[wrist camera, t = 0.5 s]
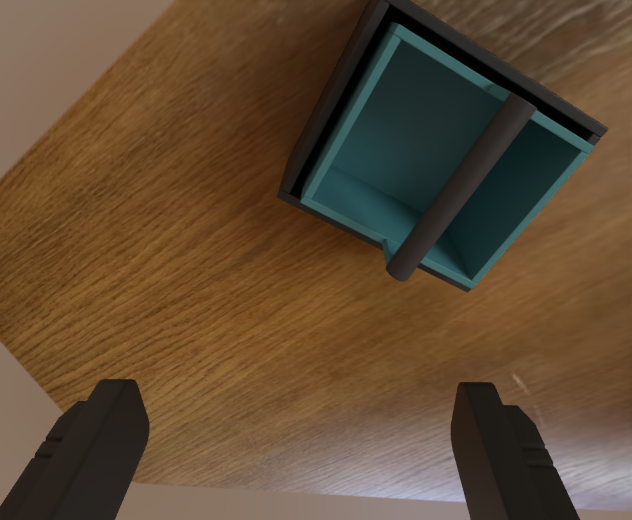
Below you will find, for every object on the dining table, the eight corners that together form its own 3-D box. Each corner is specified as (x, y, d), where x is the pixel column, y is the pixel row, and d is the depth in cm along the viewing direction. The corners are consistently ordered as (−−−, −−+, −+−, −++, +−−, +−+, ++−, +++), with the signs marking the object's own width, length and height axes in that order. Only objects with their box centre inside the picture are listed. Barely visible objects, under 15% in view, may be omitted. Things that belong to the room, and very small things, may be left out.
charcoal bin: (287, 160, 35) (276, 197, 28) (374, -11, 29) (386, -15, 22) (445, 242, 38) (468, 292, 31) (553, 103, 32) (609, 129, 25)
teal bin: (307, 157, 34) (294, 230, 23) (381, 18, 29) (409, 27, 18) (443, 228, 37) (489, 325, 26) (531, 111, 32) (635, 169, 21)
